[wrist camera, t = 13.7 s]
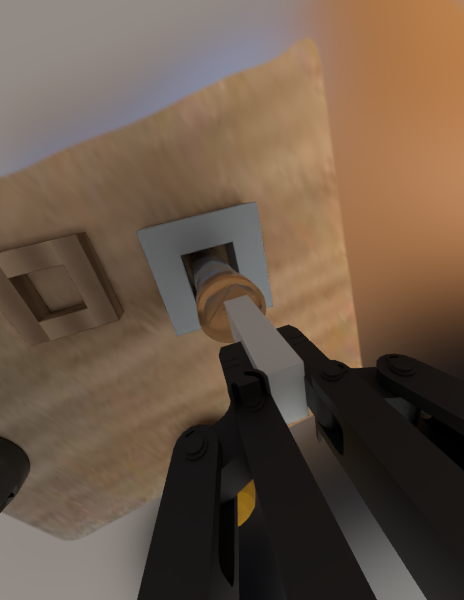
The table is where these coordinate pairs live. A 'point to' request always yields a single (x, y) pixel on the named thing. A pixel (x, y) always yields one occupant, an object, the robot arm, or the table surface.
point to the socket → (197, 236)
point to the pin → (219, 293)
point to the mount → (29, 305)
